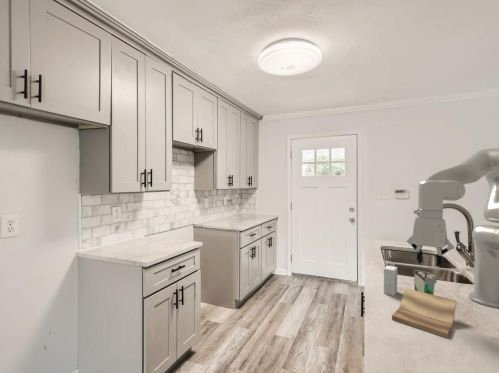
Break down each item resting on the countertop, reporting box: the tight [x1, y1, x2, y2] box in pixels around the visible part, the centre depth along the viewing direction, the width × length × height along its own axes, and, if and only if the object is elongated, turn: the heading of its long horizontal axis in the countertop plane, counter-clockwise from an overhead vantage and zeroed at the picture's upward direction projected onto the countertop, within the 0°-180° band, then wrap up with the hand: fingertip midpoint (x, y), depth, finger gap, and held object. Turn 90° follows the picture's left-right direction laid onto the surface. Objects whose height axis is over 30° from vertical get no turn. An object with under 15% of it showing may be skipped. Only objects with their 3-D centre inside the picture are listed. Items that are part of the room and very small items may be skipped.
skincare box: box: [383, 265, 398, 297], centre depth 119 cm, size 6×4×12 cm
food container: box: [413, 269, 438, 295], centre depth 117 cm, size 12×6×10 cm, turn 168°
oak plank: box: [398, 287, 457, 327], centre depth 99 cm, size 10×16×2 cm
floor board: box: [391, 307, 453, 339], centre depth 97 cm, size 20×18×2 cm
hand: (429, 263), depth 101 cm, fingers open, 4 cm apart
